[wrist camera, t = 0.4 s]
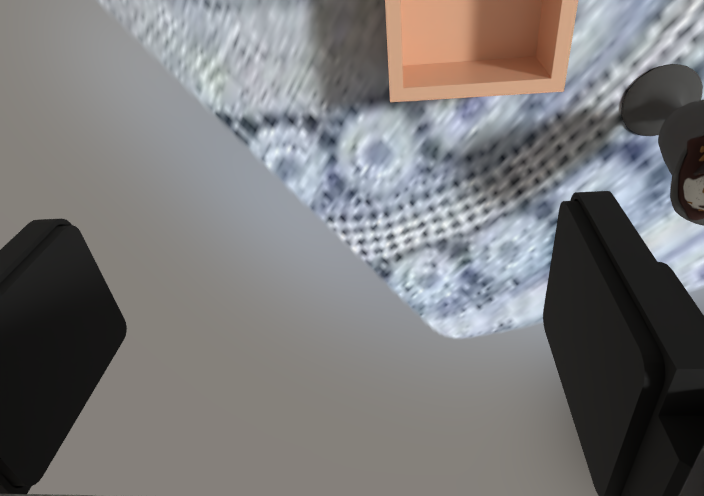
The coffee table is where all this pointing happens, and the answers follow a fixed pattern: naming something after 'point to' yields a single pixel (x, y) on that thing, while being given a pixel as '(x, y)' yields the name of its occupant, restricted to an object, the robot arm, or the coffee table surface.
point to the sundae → (673, 130)
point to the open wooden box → (477, 47)
